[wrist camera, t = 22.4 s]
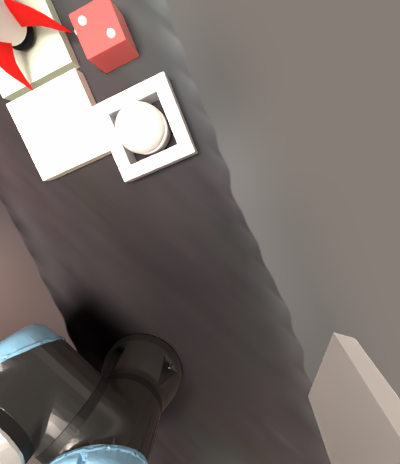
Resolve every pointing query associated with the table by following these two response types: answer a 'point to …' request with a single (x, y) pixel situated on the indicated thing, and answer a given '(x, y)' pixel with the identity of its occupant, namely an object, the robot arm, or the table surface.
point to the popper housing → (163, 91)
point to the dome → (142, 128)
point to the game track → (53, 102)
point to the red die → (104, 35)
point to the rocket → (19, 33)
